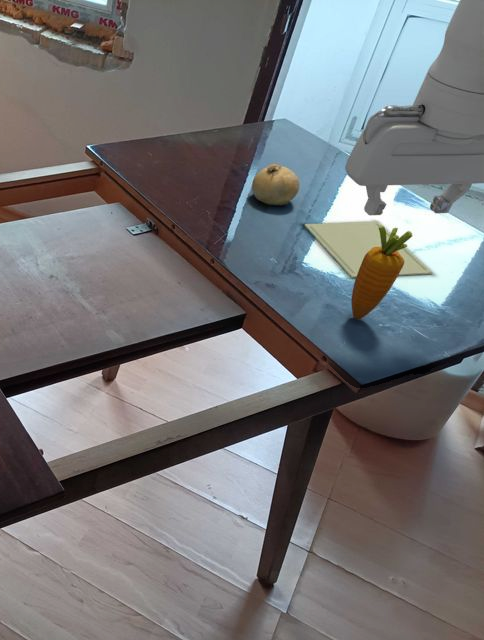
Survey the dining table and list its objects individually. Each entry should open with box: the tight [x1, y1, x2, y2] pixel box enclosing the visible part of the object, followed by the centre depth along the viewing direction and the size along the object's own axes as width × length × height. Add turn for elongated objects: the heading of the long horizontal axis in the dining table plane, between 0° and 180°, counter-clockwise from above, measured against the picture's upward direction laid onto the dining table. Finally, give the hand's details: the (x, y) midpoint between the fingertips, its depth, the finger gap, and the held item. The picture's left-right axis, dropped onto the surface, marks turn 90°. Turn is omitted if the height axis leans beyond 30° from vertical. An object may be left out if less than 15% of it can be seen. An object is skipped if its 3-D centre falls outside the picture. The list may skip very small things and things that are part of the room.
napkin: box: [304, 220, 433, 279], centre depth 114 cm, size 16×14×1 cm
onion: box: [251, 162, 301, 206], centre depth 123 cm, size 8×8×7 cm
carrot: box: [350, 225, 413, 321], centre depth 94 cm, size 5×5×15 cm
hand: (405, 212), depth 88 cm, fingers open, 8 cm apart
